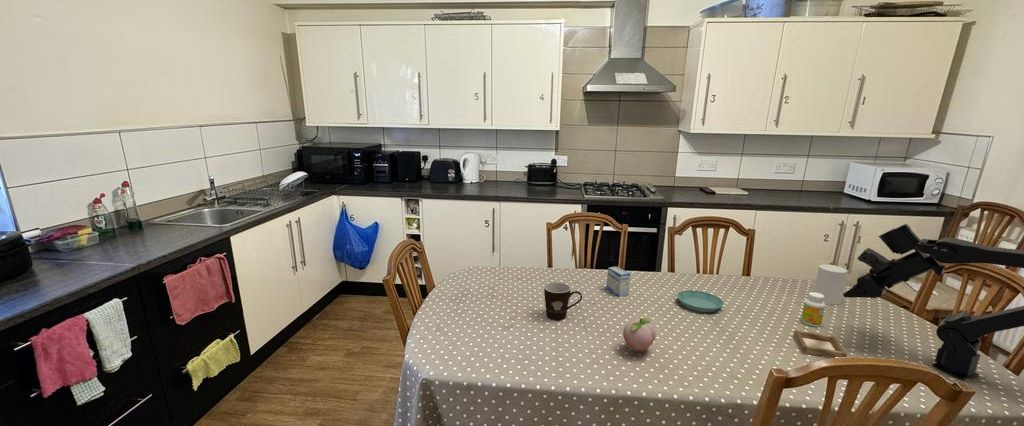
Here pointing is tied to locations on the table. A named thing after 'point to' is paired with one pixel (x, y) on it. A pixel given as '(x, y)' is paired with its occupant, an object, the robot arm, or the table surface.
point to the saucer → (700, 301)
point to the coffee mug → (558, 300)
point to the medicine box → (618, 281)
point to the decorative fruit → (639, 334)
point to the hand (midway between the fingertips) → (848, 292)
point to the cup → (830, 283)
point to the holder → (819, 344)
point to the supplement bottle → (813, 309)
